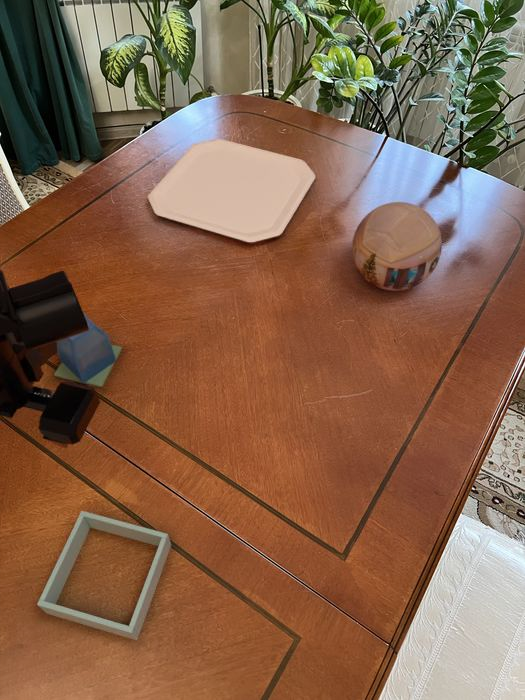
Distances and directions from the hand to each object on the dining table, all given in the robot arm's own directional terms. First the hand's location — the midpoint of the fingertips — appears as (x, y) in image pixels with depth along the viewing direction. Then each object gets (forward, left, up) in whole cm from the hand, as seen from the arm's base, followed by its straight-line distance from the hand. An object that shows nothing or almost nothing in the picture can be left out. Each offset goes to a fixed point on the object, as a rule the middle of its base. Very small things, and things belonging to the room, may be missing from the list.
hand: (31, 435), depth 69 cm
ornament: (+39, +52, -13) cm, 66 cm away
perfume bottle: (-5, +20, -13) cm, 24 cm away
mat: (-5, +20, -13) cm, 24 cm away
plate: (+5, +68, -13) cm, 69 cm away
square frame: (+12, -10, -13) cm, 20 cm away
